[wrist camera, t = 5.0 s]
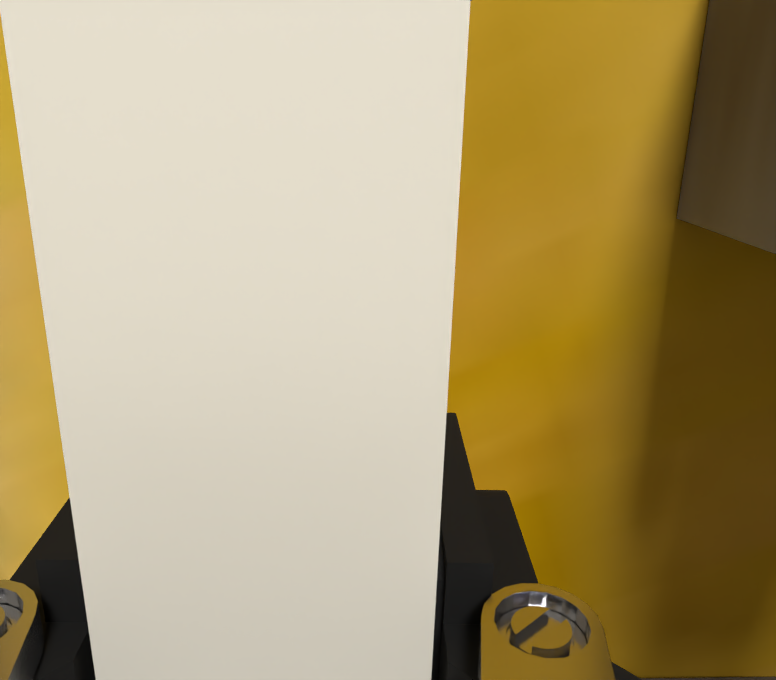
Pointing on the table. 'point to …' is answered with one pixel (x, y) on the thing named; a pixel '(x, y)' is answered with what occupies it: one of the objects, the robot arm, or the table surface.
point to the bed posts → (734, 135)
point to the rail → (248, 320)
